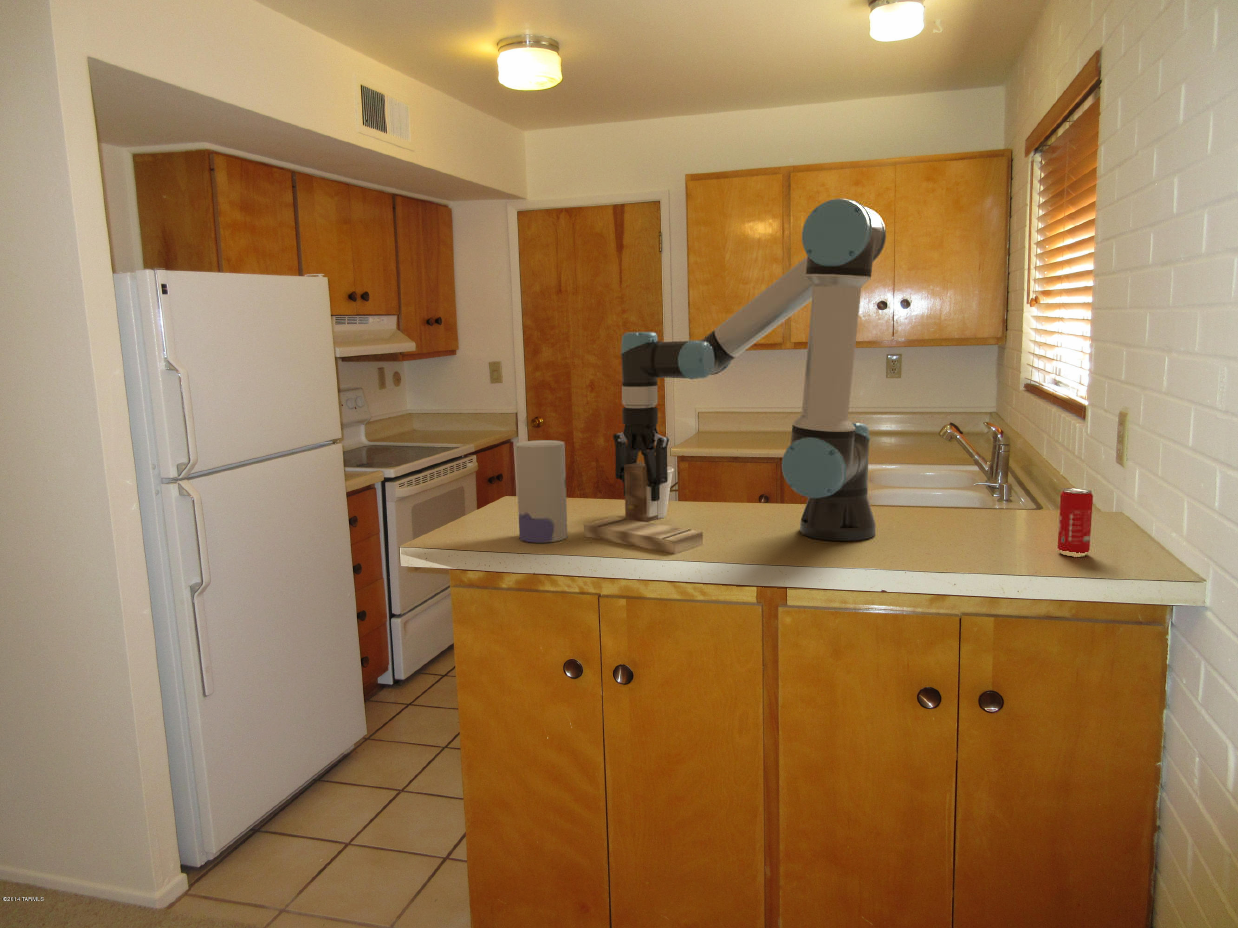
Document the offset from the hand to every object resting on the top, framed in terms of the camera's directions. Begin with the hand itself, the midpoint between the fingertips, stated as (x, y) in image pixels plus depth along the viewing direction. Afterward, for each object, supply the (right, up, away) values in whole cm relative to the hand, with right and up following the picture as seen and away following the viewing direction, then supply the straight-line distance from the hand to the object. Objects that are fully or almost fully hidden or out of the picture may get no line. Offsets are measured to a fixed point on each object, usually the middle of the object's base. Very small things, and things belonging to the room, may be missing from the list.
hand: (641, 513), depth 183 cm
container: (-21, -5, -5) cm, 22 cm away
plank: (0, -5, -9) cm, 10 cm away
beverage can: (+79, -6, -26) cm, 83 cm away
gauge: (0, -1, 0) cm, 1 cm away
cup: (+3, -2, +13) cm, 13 cm away
